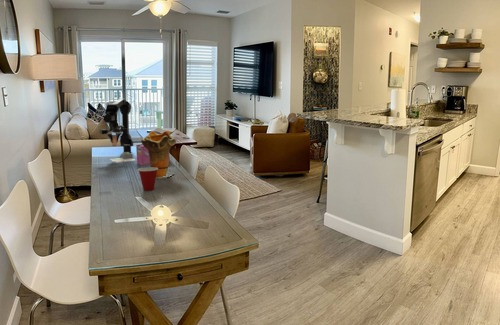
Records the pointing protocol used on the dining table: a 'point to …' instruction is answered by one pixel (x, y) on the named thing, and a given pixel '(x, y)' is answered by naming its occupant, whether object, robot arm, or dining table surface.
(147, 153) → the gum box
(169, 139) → the decorative vase
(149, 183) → the plastic cup
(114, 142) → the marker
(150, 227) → the dining table surface
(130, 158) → the square board tray
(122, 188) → the dining table surface
